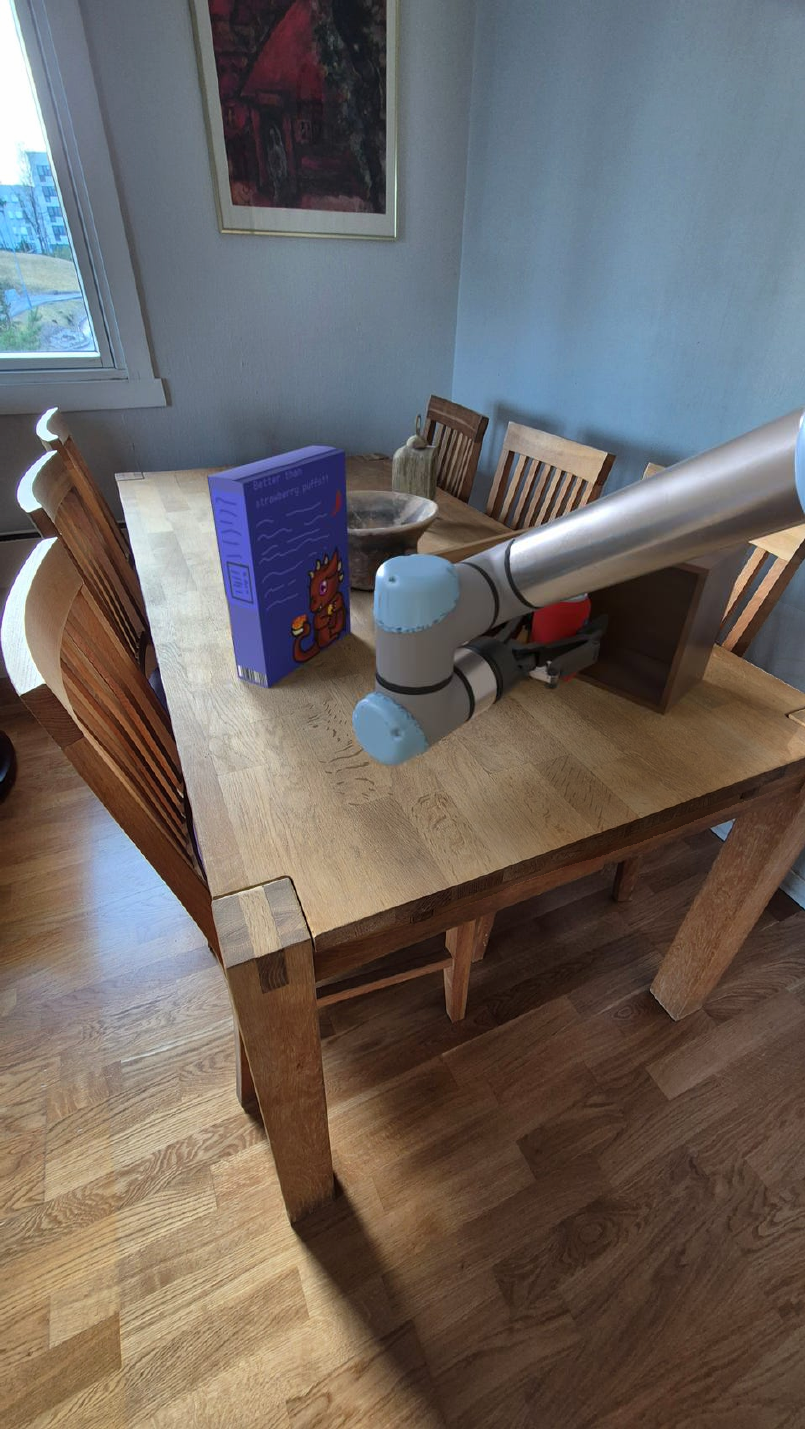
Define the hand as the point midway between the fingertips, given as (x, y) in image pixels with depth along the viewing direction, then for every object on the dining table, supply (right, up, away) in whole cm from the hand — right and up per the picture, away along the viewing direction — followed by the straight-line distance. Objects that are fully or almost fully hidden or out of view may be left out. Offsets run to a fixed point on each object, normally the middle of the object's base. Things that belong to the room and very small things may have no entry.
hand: (579, 614), depth 83 cm
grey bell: (-21, +36, +76) cm, 86 cm away
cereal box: (-41, -3, +19) cm, 45 cm away
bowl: (-30, +14, +45) cm, 56 cm away
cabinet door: (-15, -7, +15) cm, 22 cm away
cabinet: (+10, -6, +17) cm, 21 cm away
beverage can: (-4, -8, +1) cm, 9 cm away
